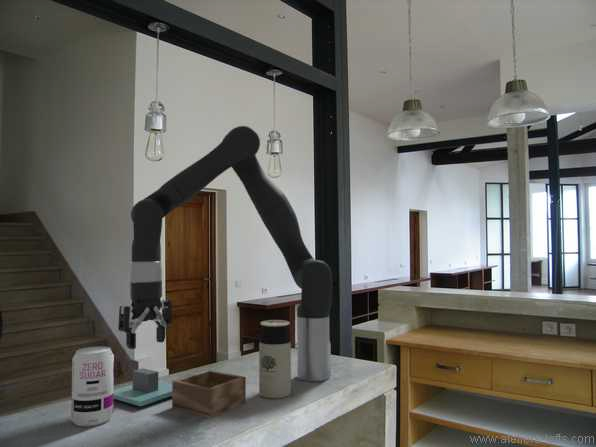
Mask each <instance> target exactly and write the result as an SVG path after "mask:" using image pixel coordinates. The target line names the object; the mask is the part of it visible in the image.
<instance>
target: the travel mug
mask: <svg viewBox="0 0 596 447" xmlns="http://www.w3.org/2000/svg"><path fill="white" fill-rule="evenodd" d="M259 324H260V326H261V330H260V331H261V332H260V334H259V335H258V338H259V339H258V343H259V344H258V349H259V350H258V351H259V352H258V355H259V357H258V362H259V364H258V365H259V367H258V368H259V369H258V375H259V376H258V378H259V379H258V380H259V381H258V383H259V384H258V388H259V389H258V390H259V391H258V392H259V393H258V394H259V395H260V396H262V397H264V398H267V399H275V400H277V399H283V398H287V397H288V396H290V395H291V393H292V384H291V383H292V356H291V355H292V352H291V350H292V348H291V347H292V342H291V341H292V340H291V339H292V338H291V337H292V335H291V333H290V331H289V326H290V321H288V320H286V319H285V320H283V319H268V320H263V321H260V323H259Z"/></svg>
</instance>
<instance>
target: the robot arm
mask: <svg viewBox="0 0 596 447" xmlns="http://www.w3.org/2000/svg"><path fill="white" fill-rule="evenodd" d="M260 146H261V139H260V136H259V134H258V132H257V131H256V130H255V129H254V128H252V127H250V126H247V125H240V126H236V127H234V128H232V129H231V130H230V131H228V132H227V134H226V135H225V136H224V137H223V139H222V141H221V142H219V144H218V145H217V146H216V147H214V148H213V149H212V150H211V151H209V152H208V153H207V154H206V155H204V156H203V157H201V158H199V159H198V160H197V161H195V162H194V163H192V164H191V165H189V166H188V167H186V168H184V169H183V170H181V171H180V172H178V173H177V174H176V175H174V176H173V177H172V178H170V179H169V180H167V181H166V182H164V184H162V185H161V186H160V187H159V188H158V189H157V190H155V191H154V192H152V193H151V194H149V195H148V196H145V198H143V199H141V200H140V201H138V202H136V203H135V205H133V207H132V208H131V211H130V219H131V221H132V226H133V227H132V228H133V230H132V231H133V232H132V233H133V236H132V237H133V240H132V243H131V264H130V284H129V285H130V286H129V287H130V289H129V290H130V292H129V293H130V300H131V305H120V306H119V309H118V311H119V312H118V326H117V327H118V331H119V332H123V333H125V335H126V336H125V338H126V341H125V342H126V347H127V348H128V349H129V350H135V349H136V348H137V333H136V331H137V329H138V328H139V326H141V325H142V323H143V322H147V321H153V322H154V323H155V325H156V328H155V329H156V330H155V331H156V334H155V335H156V336H155V337H156V338H155V340H156V342H157V343H164V342H165V340H166V327H167V326H168V325H170V324H172V323H173V314H172V313H173V312H172V311H173V310H172V301H171V300H168V299H167V300H166V299H163V300H161V299H162V297H163V267H162V247H161V245H162V244H161V237H162V230H163V219H164V218H165V217H166V216H168V214H170V213H171V212H173V210H175V209H178V208H179V207H181V206H182V205H183V206H184V204H186V203H187V202H188V201H189V200H191V199H192V198H193V197H194V196H196V195H198V193H200V192H201V191H202V190H203V189H205V188H206V187H207V186H208V185H210V183H211V182H213V181H214V180H215V179H216V178H218V177H219V176H220V175H221V174H223V173H224V172H226V171H227V170H228V169H230V168H232V170H233V172H234V173H235V174H236V175H237V177H238V179H239V181H240V182H241V183H242V186H244V188H245V191H246V192H247V195H248V196H249V199H250V200H251V203H252V204H253V206H254V208H255V209H256V212H257V214H258V215H259V217H260V219H261V221H262V223H263V224H264V226H265V228H266V229H267V231H268V232H269V235H270V236H271V237H272V239H273V241H274V243H275V244H276V246H277V247H278V249H279V250H280V252H281V254H282V256H283V258H284V260H285V263H286V265H287V267H288V270H289V272H290V275H291V276H292V279H293V280H294V283H295V285H296V286H297V287H298V288H300V289H301V291H300V292H301V295H300V296H301V298H300V303H299V304H298V306H297V307H296V336H297V337H296V348H297V349H296V350H297V351H296V356H297V358H296V359H297V360H296V363H297V364H296V365H297V368H296V369H297V371H296V372H297V378H298V379H299V380H301V381H306V382H322V381H327V380H329V379H330V376H331V375H332V373H331V371H332V368H331V367H332V365H331V364H332V363H331V361H332V359H331V358H332V355H331V354H332V353H331V351H332V350H331V348H332V346H331V345H332V344H331V342H330V310H331V308H332V302H333V274H332V269H331V268H330V266H329V265H328V264H327V262H325V261H324V260H320V259H319V260H318V259H315V258H314V257H313V256H312V254H311V253H310V251H309V249H308V248H307V246H306V245H305V242H304V240H303V237H302V233H301V229H300V224H299V220H298V217H297V214H296V212H295V210H294V208H293V206H292V205H291V203H290V201H289V199H288V196H286V194H285V193H284V191H283V190H282V189H281V188H280V187H279V186H278V185H277V184H276V183H275V182H274V181H273V180H272V179H271V178H270V177H269V176H268V175H267V173H265V171H264V169H263V168H262V166H261V164H260V161H259V160H258V158H257V155H256V154H258V153H259V152H258V151H259V150H260ZM130 315H131V316H130Z"/></svg>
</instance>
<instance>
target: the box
mask: <svg viewBox="0 0 596 447" xmlns="http://www.w3.org/2000/svg"><path fill="white" fill-rule="evenodd" d="M246 379H247V377H246V376H241V375H237V374H232V373H227V372H223V371H217V370H213V369H207V370H204V371H201V372H197V373H195V374H192V375H191V374H190V375H188V376H184V377H182V378H178V379H176V380H172V382H171V385H172V396H171V398H172V402H171V405H172V406H171V408H174V409H177V410H180V411H183V412H188V413H191V414H194V415H198V416H201V417H204V418H208V419H210V418H212V417H215V416H218V415H219V414H222V413H225V412H226V411H229V410H231V409H234V408H237V407H238V406H241V405H244V404H246V401H247V399H246V396H247V394H246V390H247V389H246V386H247V384H246Z"/></svg>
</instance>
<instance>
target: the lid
mask: <svg viewBox="0 0 596 447" xmlns="http://www.w3.org/2000/svg"><path fill="white" fill-rule="evenodd" d="M168 398H172V383H171V384H170V383H166V382H162V381H159V371H157V370H154V369H153V370H152V369H147V368H143V367H142V368H139V369H134V370H132V384H130V385H129V384H128V385H126V386H122V387H119V388H115V389H113V400H117V401H120V402H124V403H127V404H131V405H135V406H138V407H144V406H148V405H150V404H153V403H156V402H159V401H162V400H165V399H168Z"/></svg>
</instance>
